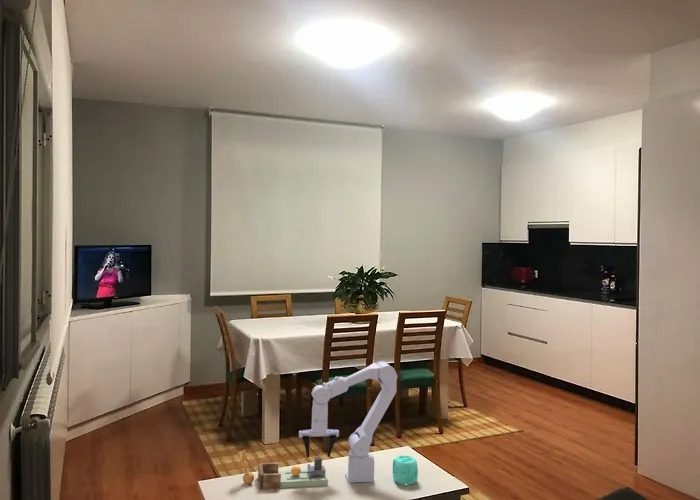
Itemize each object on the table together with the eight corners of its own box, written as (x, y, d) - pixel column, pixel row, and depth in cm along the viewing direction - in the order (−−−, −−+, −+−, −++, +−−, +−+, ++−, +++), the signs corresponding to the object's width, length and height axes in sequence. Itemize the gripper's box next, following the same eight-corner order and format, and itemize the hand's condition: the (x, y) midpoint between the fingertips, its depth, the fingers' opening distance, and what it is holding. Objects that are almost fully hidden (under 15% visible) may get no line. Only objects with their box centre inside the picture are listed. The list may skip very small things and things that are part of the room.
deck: (323, 474, 220) (323, 468, 220) (327, 485, 210) (328, 479, 210) (277, 476, 217) (278, 470, 217) (280, 487, 207) (280, 481, 207)
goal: (277, 475, 217) (278, 462, 217) (280, 488, 206) (280, 474, 206) (258, 476, 216) (258, 463, 216) (259, 489, 205) (260, 475, 205)
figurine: (253, 488, 205) (254, 454, 205) (235, 488, 205) (236, 454, 205) (254, 478, 214) (255, 446, 214) (237, 479, 213) (238, 446, 213)
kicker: (322, 469, 218) (323, 454, 218) (326, 476, 212) (326, 461, 212) (307, 470, 217) (307, 455, 217) (310, 477, 210) (310, 462, 210)
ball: (300, 473, 215) (300, 464, 215) (301, 477, 211) (301, 467, 211) (290, 474, 214) (290, 464, 214) (291, 477, 211) (291, 468, 211)
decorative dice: (395, 485, 213) (396, 463, 213) (392, 476, 221) (392, 455, 221) (417, 485, 214) (418, 463, 213) (413, 476, 221) (413, 455, 221)
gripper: (337, 415, 220) (335, 451, 220) (298, 416, 217) (297, 452, 217) (340, 421, 213) (339, 458, 213) (300, 422, 210) (299, 459, 210)
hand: (318, 456), depth 214 cm, fingers open, 7 cm apart
